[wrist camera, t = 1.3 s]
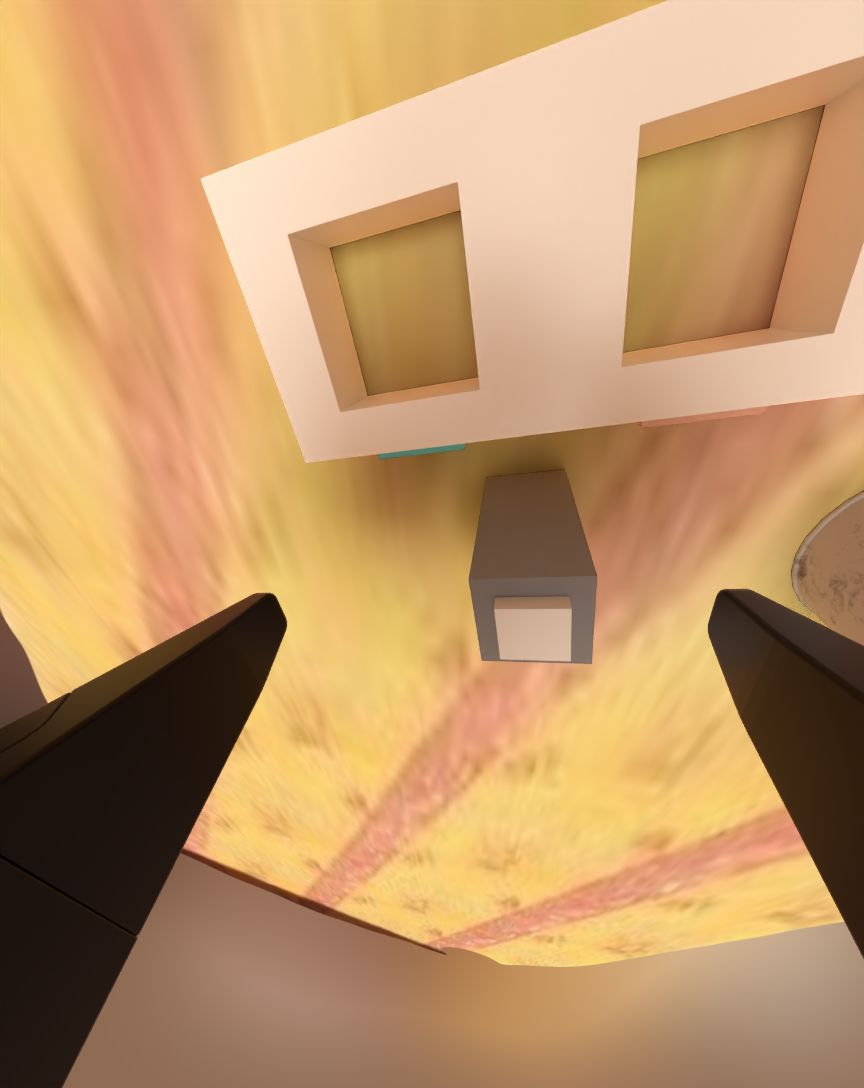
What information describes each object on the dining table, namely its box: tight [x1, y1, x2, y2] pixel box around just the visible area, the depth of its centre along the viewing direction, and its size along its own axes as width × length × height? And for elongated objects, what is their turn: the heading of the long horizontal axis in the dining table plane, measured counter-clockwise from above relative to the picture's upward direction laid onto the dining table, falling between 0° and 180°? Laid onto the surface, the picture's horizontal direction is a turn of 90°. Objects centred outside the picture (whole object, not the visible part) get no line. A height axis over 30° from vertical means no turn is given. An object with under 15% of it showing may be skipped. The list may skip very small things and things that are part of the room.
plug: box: [469, 469, 597, 664], centre depth 16 cm, size 4×4×10 cm
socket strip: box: [201, 0, 864, 463], centre depth 14 cm, size 22×10×4 cm, turn 100°
